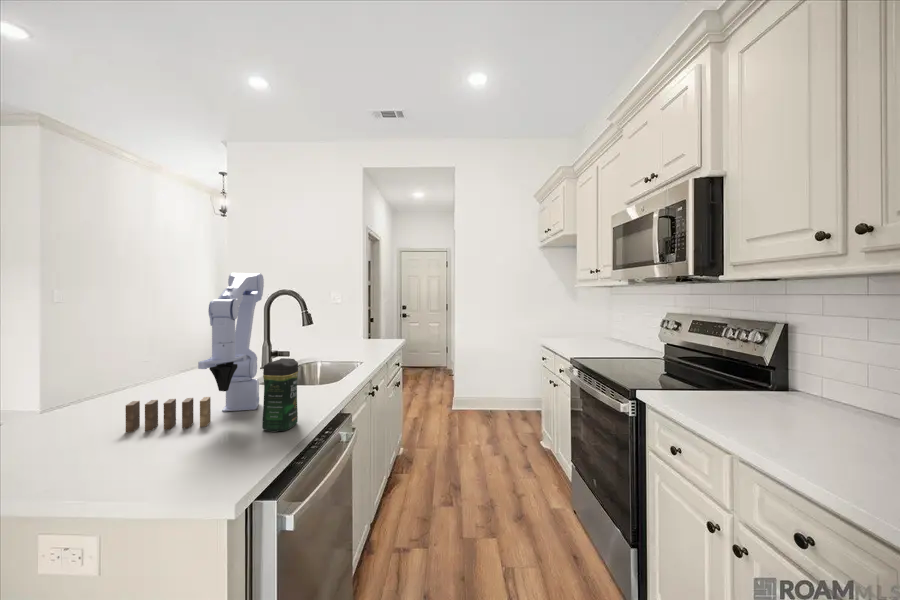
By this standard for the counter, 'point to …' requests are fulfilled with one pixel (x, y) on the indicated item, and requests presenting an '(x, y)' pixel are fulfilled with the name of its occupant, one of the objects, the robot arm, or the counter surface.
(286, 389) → the coffee jar
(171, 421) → the brown rectangular block
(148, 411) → the brown rectangular block
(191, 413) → the tile
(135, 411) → the wood grain rectangular block
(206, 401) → the tile
